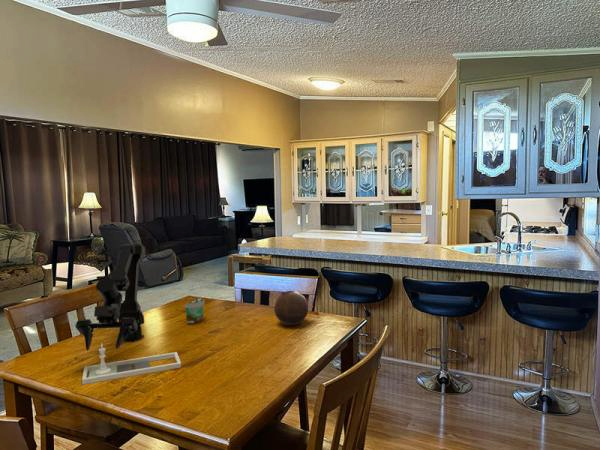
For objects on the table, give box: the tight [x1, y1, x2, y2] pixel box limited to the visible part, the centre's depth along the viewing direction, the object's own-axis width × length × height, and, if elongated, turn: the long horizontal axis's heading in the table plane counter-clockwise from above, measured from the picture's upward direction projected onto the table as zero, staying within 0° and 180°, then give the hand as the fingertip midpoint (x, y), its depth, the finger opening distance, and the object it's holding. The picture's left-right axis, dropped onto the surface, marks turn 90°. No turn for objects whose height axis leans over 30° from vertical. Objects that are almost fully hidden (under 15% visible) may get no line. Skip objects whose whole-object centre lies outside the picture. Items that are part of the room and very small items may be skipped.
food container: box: [184, 296, 206, 326], centre depth 194 cm, size 12×6×10 cm, turn 168°
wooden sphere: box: [273, 290, 309, 326], centre depth 189 cm, size 15×15×15 cm
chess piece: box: [95, 342, 111, 376], centre depth 140 cm, size 5×5×10 cm
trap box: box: [81, 351, 182, 385], centre depth 143 cm, size 30×11×2 cm, turn 114°
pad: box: [88, 366, 117, 378], centre depth 140 cm, size 8×9×1 cm
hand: (101, 349), depth 139 cm, fingers open, 9 cm apart
